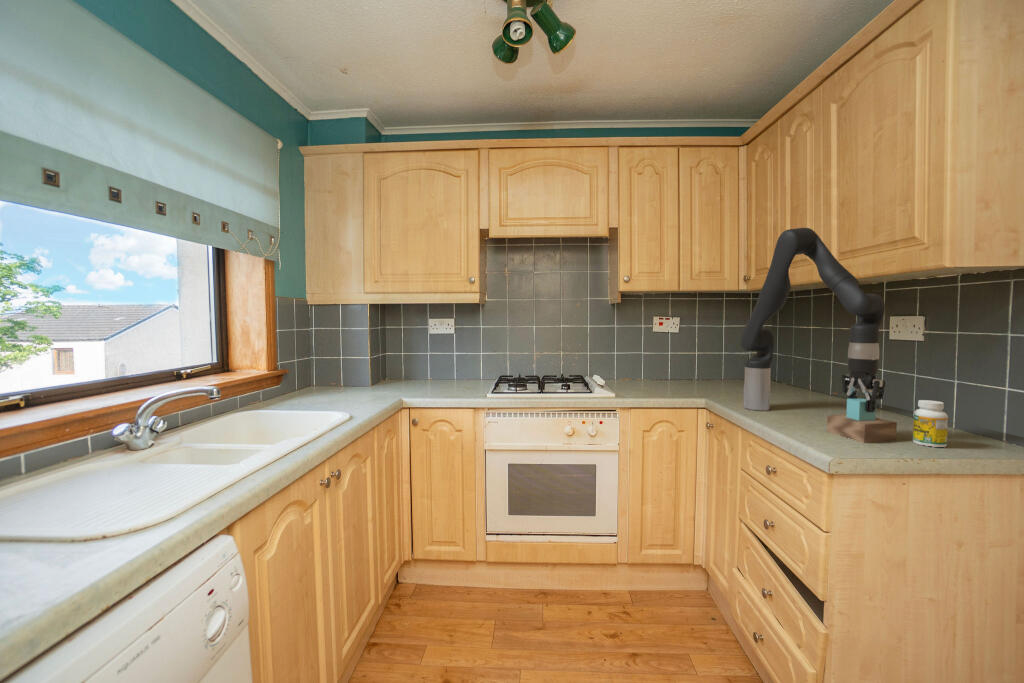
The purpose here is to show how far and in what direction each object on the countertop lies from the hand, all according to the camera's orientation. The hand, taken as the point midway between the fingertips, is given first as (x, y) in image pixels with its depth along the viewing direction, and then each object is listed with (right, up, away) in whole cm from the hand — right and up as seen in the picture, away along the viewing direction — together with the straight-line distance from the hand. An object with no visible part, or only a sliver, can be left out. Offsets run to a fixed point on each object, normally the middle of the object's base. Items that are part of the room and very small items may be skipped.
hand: (861, 409), depth 133 cm
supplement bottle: (+13, -9, -8) cm, 18 cm away
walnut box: (0, -9, 0) cm, 9 cm away
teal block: (0, -3, 0) cm, 3 cm away
